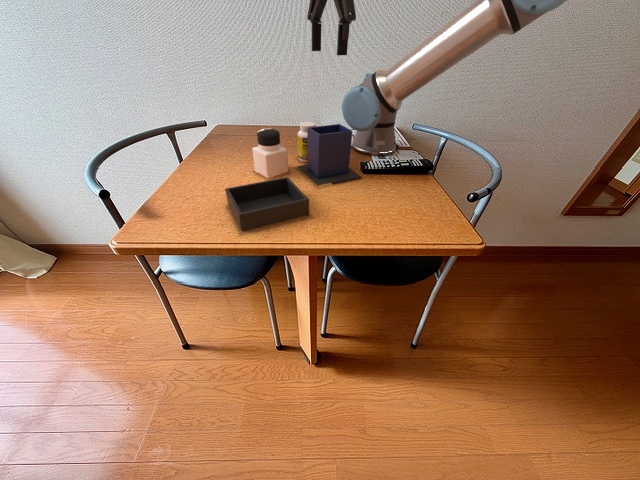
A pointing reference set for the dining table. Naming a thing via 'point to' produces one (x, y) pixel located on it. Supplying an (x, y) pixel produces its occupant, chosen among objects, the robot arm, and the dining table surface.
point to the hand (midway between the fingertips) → (328, 53)
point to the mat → (331, 179)
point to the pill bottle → (303, 140)
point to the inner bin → (328, 150)
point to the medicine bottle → (269, 154)
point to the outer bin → (266, 203)
